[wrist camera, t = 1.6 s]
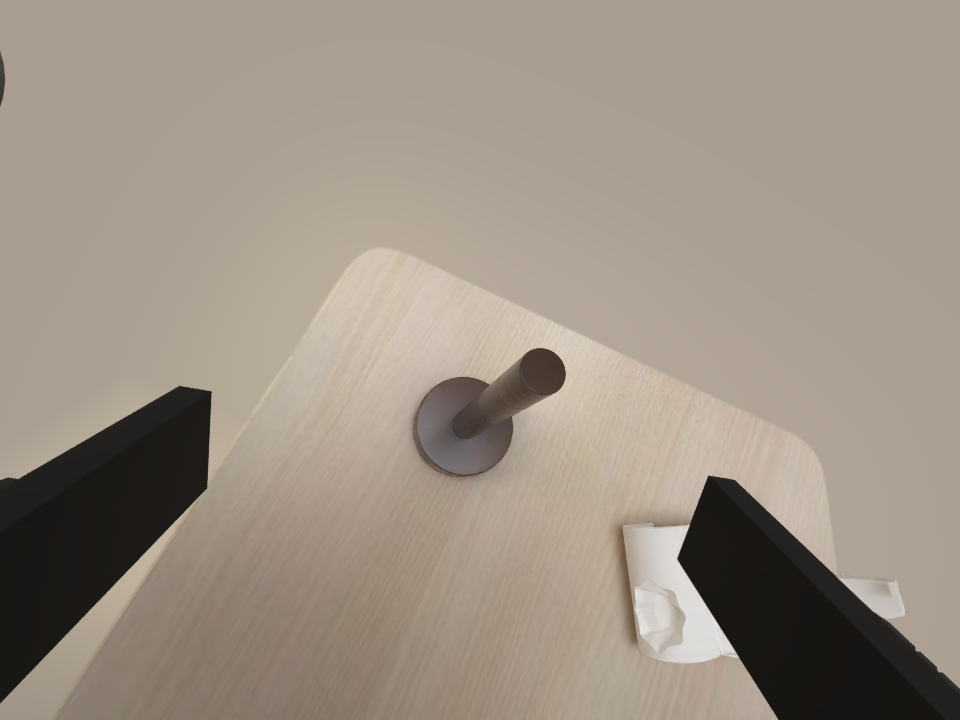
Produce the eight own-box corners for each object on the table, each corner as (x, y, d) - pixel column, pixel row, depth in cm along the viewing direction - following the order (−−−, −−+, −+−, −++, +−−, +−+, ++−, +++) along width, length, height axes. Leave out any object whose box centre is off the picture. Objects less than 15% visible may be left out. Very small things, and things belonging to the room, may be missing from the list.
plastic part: (612, 524, 33) (732, 536, 22) (732, 516, 35) (895, 523, 24) (627, 646, 31) (768, 725, 20) (754, 628, 33) (943, 691, 22)
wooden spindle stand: (393, 423, 31) (420, 357, 16) (463, 365, 33) (543, 260, 18) (456, 497, 31) (542, 499, 16) (522, 433, 33) (653, 382, 18)
